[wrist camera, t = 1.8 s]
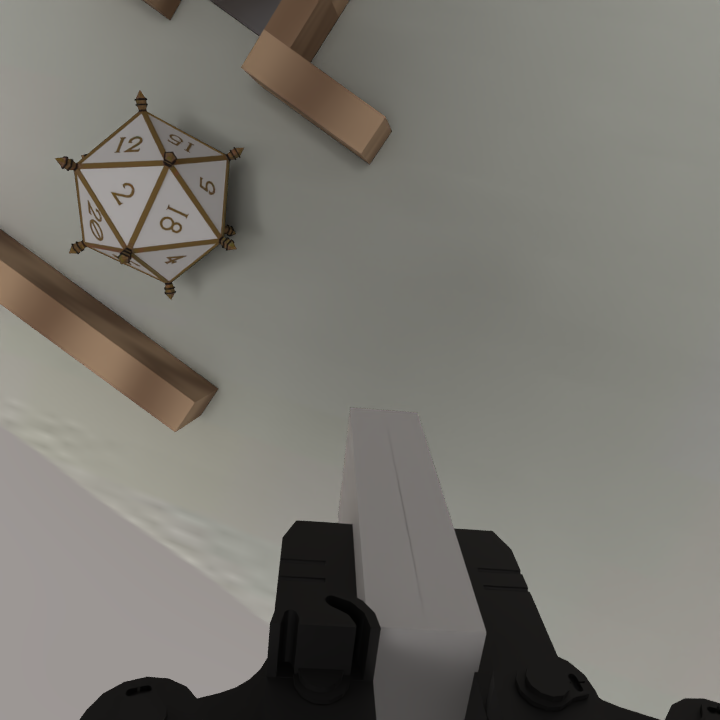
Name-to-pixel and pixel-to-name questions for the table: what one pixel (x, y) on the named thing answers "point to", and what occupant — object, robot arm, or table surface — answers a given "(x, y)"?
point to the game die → (153, 197)
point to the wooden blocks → (108, 330)
